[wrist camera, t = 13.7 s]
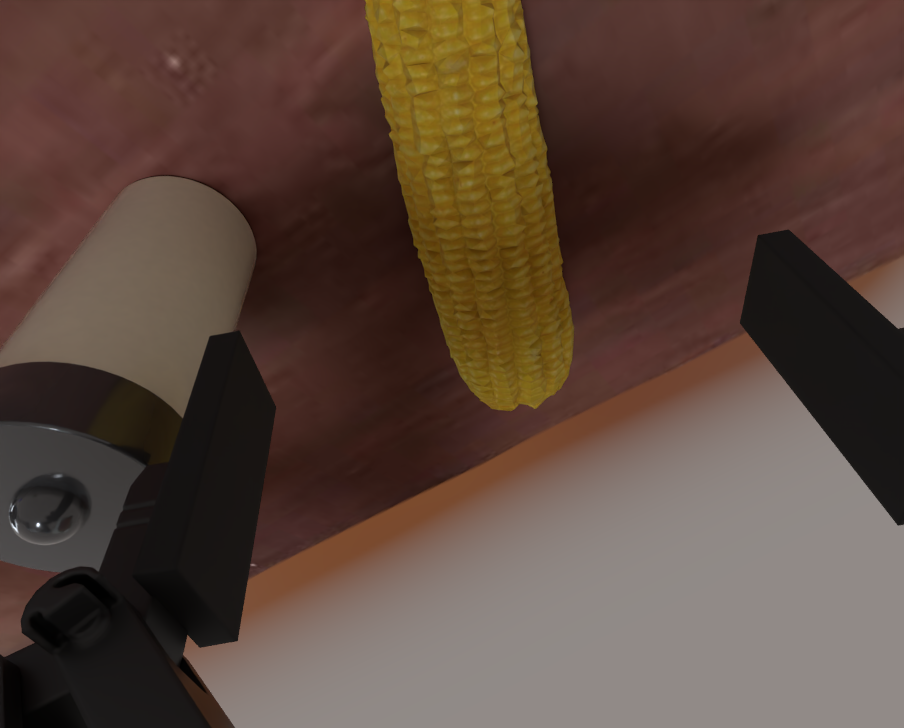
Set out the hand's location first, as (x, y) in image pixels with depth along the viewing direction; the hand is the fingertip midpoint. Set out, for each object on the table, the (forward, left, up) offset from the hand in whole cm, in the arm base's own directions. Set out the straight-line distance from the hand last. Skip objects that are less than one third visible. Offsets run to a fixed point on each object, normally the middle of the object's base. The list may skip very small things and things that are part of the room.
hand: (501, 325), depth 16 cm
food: (0, 0, -12) cm, 12 cm away
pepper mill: (-12, -2, -12) cm, 17 cm away
